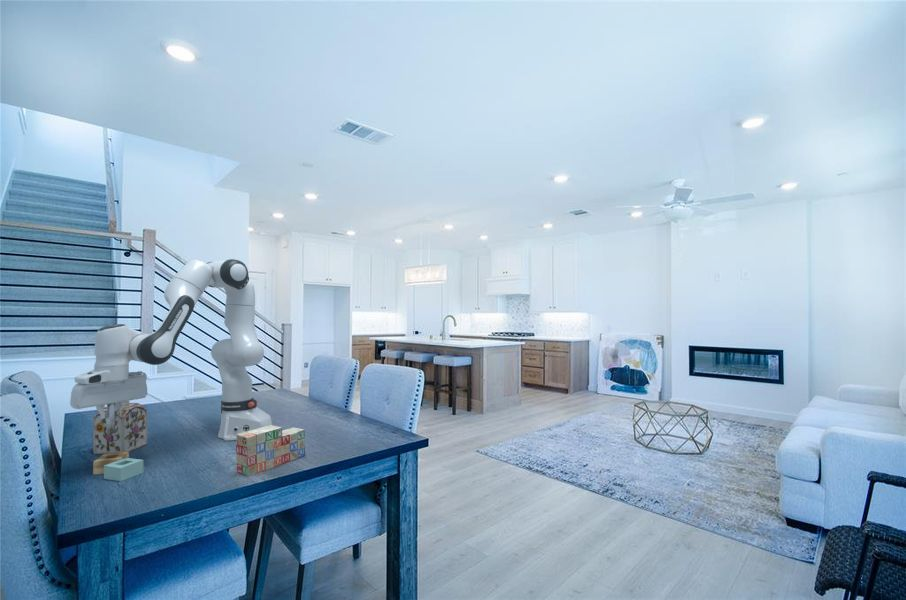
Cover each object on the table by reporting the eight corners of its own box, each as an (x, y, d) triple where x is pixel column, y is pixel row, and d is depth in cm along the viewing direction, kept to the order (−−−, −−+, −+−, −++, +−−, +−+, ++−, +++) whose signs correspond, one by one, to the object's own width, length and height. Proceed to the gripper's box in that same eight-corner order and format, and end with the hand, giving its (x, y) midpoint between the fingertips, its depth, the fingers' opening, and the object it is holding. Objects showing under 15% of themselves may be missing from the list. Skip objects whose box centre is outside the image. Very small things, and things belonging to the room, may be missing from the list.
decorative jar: (119, 443, 164) (119, 396, 165) (148, 444, 164) (148, 397, 164) (91, 454, 152) (91, 404, 153) (122, 455, 152) (122, 404, 152)
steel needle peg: (116, 431, 140) (117, 391, 140) (111, 433, 138) (112, 392, 138) (109, 431, 140) (110, 391, 140) (104, 433, 137) (105, 392, 138)
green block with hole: (143, 472, 135) (143, 459, 135) (120, 481, 129) (120, 468, 129) (127, 470, 137) (127, 457, 138) (103, 478, 131) (103, 465, 131)
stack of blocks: (294, 452, 153) (294, 418, 153) (305, 456, 150) (305, 420, 150) (236, 472, 135) (235, 433, 135) (247, 477, 132) (247, 436, 132)
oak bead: (128, 463, 143) (128, 451, 143) (119, 471, 136) (119, 459, 136) (103, 466, 141) (103, 454, 141) (93, 474, 134) (93, 461, 134)
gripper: (141, 369, 150) (140, 409, 149) (68, 378, 131) (67, 423, 131) (151, 371, 147) (151, 411, 146) (78, 379, 129) (77, 425, 128)
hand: (110, 417), depth 139 cm, fingers closed on steel needle peg, 2 cm apart
